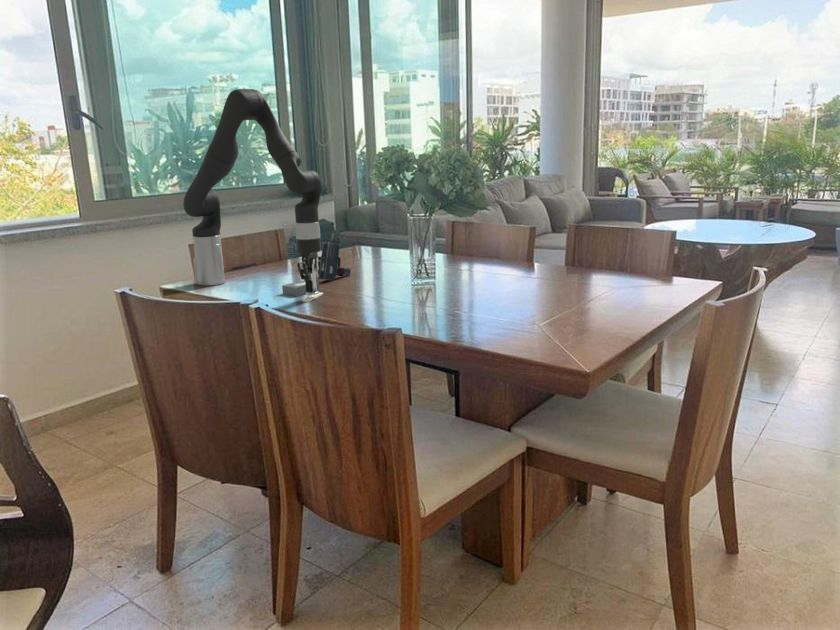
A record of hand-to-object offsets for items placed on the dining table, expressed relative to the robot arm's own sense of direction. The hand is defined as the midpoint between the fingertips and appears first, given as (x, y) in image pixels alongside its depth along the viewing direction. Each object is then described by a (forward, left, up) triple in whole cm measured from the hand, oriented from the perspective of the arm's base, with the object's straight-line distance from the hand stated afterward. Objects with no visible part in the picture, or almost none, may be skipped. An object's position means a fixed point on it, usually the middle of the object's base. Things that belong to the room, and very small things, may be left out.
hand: (312, 290), depth 205 cm
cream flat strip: (-1, +2, -3) cm, 3 cm away
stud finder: (-8, +8, -3) cm, 12 cm away
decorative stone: (-18, +47, -3) cm, 50 cm away
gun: (-5, +30, -3) cm, 30 cm away
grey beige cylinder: (0, 0, -1) cm, 1 cm away
